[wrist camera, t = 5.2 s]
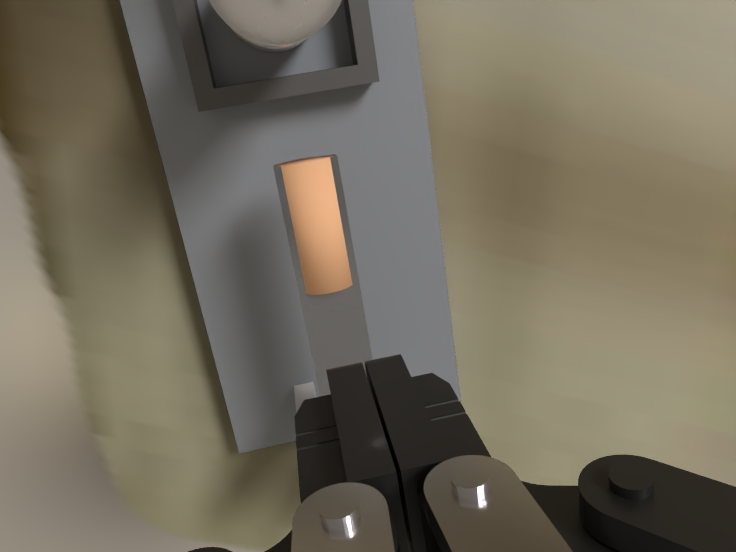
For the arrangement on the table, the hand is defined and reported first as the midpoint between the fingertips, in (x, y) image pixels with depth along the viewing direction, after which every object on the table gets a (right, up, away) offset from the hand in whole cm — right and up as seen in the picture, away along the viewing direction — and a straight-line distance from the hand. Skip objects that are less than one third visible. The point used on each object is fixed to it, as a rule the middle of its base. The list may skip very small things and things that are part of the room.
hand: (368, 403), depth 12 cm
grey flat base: (-3, +9, +17) cm, 20 cm away
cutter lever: (-1, -1, +15) cm, 15 cm away
